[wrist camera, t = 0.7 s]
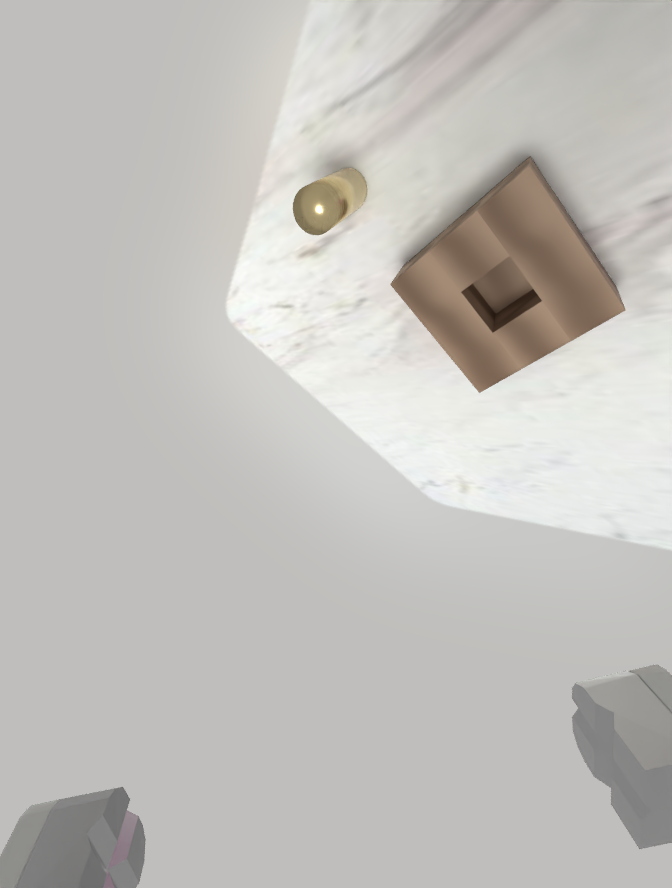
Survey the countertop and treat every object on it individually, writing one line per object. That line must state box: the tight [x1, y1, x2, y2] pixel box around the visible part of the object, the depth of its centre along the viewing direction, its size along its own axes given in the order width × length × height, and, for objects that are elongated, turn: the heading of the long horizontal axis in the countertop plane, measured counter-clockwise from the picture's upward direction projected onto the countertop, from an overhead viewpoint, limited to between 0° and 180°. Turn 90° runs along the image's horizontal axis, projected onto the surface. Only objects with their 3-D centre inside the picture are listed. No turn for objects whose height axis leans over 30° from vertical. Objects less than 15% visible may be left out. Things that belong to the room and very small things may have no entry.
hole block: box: [391, 157, 625, 393], centre depth 46 cm, size 15×15×6 cm
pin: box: [293, 168, 367, 235], centre depth 44 cm, size 4×4×10 cm
